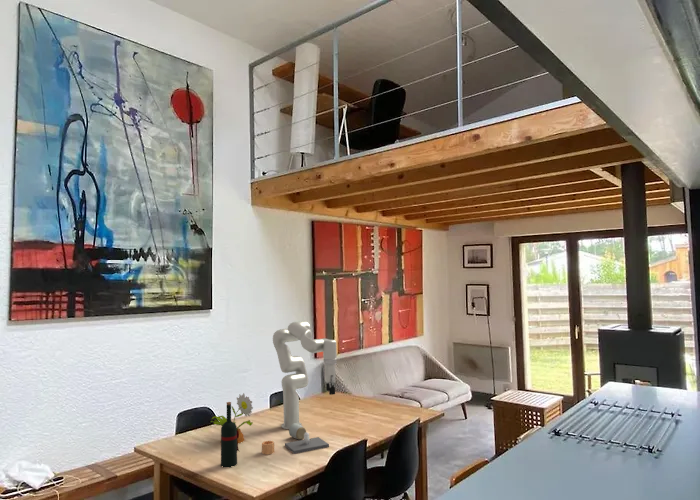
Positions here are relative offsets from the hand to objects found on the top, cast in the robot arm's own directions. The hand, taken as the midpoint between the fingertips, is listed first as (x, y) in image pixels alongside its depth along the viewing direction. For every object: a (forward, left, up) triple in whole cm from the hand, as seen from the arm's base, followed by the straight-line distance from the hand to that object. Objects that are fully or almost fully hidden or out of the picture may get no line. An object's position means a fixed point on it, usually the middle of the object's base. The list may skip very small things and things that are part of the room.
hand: (330, 392), depth 272 cm
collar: (+2, -38, -26) cm, 46 cm away
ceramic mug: (-13, -14, -26) cm, 32 cm away
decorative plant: (-27, -51, -26) cm, 63 cm away
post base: (+4, -17, -26) cm, 31 cm away
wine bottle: (+8, -59, -26) cm, 65 cm away
